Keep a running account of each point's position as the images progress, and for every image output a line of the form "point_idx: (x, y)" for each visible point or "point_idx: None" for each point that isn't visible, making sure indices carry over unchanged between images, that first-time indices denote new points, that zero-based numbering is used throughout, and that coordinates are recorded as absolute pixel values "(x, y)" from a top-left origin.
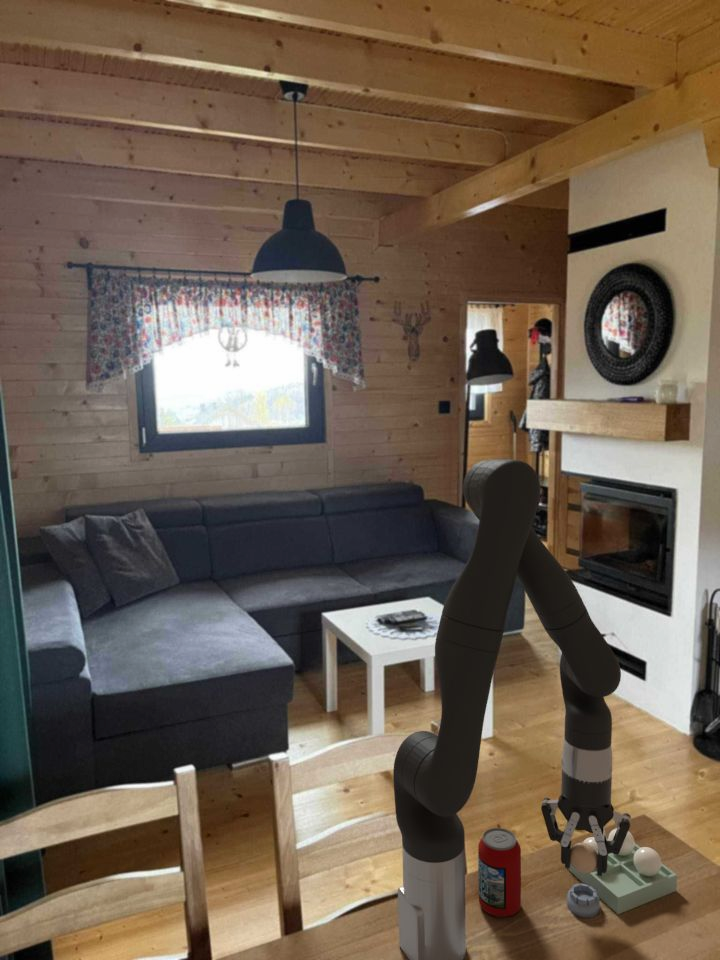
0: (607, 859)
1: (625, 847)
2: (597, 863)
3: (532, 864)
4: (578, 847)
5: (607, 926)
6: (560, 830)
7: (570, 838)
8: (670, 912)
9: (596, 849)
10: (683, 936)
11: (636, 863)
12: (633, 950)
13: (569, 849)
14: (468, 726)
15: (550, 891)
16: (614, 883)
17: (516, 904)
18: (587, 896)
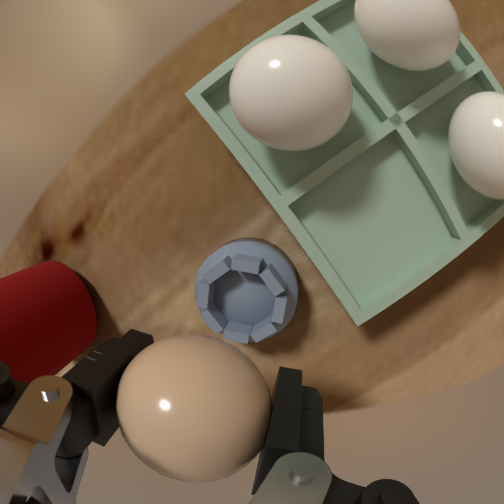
0: (322, 423)
1: (428, 64)
2: (259, 456)
3: (113, 122)
4: (139, 457)
5: (311, 349)
6: (9, 414)
7: (76, 489)
8: (485, 266)
9: (297, 128)
10: (479, 344)
11: (463, 167)
12: (356, 407)
13: (105, 441)
14: None
15: (158, 231)
16: (361, 217)
17: (83, 348)
18: (258, 288)
